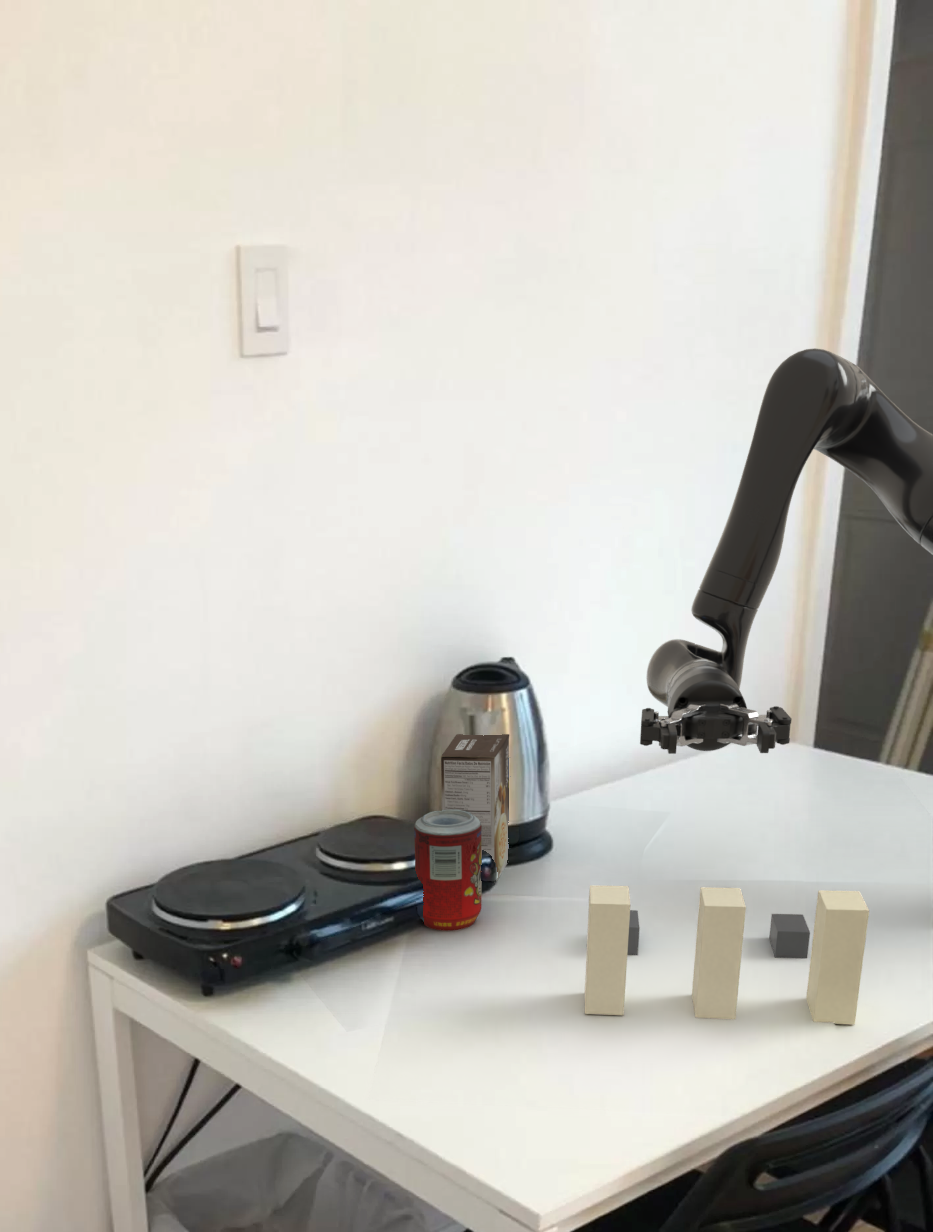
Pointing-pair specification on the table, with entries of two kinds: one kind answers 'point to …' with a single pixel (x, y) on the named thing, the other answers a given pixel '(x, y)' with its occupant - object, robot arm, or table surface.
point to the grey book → (633, 933)
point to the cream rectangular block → (607, 949)
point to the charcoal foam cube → (789, 936)
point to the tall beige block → (718, 952)
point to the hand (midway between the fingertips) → (719, 743)
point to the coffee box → (480, 787)
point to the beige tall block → (837, 956)
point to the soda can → (449, 868)
